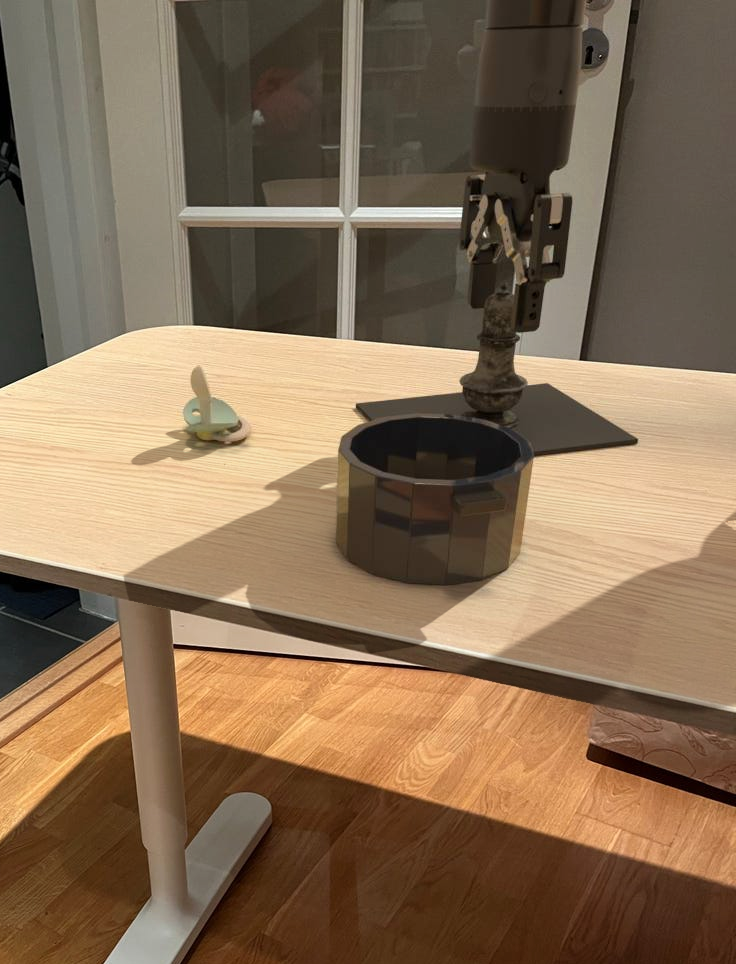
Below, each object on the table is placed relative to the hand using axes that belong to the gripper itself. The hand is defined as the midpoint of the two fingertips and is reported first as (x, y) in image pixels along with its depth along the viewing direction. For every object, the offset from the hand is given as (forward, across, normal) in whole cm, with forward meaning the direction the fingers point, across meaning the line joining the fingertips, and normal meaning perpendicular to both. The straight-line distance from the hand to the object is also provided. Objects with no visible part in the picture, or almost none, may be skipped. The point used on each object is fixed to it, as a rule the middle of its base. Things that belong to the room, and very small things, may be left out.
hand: (501, 318), depth 80 cm
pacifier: (+10, +5, +24) cm, 26 cm away
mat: (+9, 0, 0) cm, 9 cm away
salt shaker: (+9, 0, 0) cm, 9 cm away
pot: (+9, -20, +14) cm, 26 cm away
